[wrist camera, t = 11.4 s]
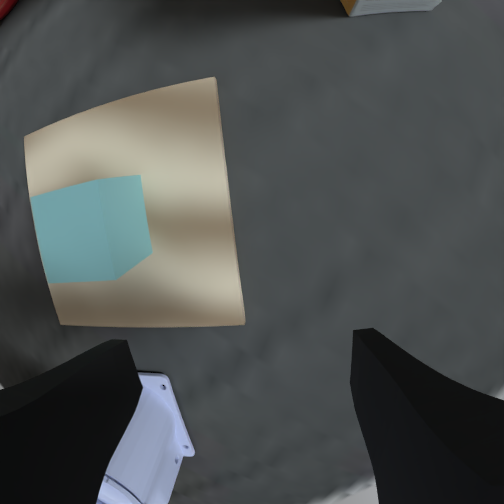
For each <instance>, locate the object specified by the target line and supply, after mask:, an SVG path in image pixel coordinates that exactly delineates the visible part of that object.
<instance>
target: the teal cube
mask: <svg viewBox="0 0 504 504" xmlns="http://www.w3.org/2000/svg"><path fill="white" fill-rule="evenodd" d="M30 199H31V206H32V212H33V218H34V224H35V229H36V234H37V239H38V244H39V248H40V253H41V257H42V261H43V265H44V269H45V273H46V277H47V281H48V283H69V282H90V281H108V280H117V279H118V278H120V277H121V276H122V275H124V274H125V273H126V272H128V271H129V270H130V269H132V268H133V267H134V266H136V265H137V264H138V263H140V262H141V261H142V260H144V259H145V258H147V257H148V256H149V255H151V254H152V253H153V251H152V246H151V240H150V235H149V229H148V223H147V216H146V210H145V203H144V196H143V189H142V182H141V175H133V176H123V177H113V178H105V179H97V180H93V181H89V182H85V183H81V184H77V185H73V186H69V187H65V188H61V189H58V190H54V191H51V192H47V193H44V194H40V195H37V196H33V197H30Z"/></svg>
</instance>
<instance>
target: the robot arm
mask: <svg viewBox="0 0 504 504" xmlns="http://www.w3.org/2000/svg"><path fill="white" fill-rule="evenodd" d="M163 385H165V386H166V387H165V386H163ZM350 386H351V391H352V397H353V402H354V407H355V411H356V415H357V418H358V421H359V424H360V427H361V431H362V434H363V437H364V440H365V443H366V446H367V450H368V453H369V456H370V459H371V463H372V466H373V470H374V475H375V480H376V486H377V493H378V500H379V504H504V400H501V399H498V398H495V397H492V396H489V395H486V394H483V393H481V392H478V391H476V390H473V389H471V388H469V387H466V386H464V385H462V384H460V383H458V382H456V381H454V380H452V379H450V378H448V377H446V376H444V375H442V374H440V373H439V372H437V371H435V370H434V369H432V368H430V367H429V366H427V365H425V364H424V363H422V362H421V361H419V360H418V359H416V358H415V357H413V356H412V355H410V354H409V353H407V352H406V351H404V350H403V349H402V348H400V347H399V346H397V345H396V344H395V343H393V342H392V341H391V340H389V339H388V338H386V337H385V336H384V335H382V334H381V333H380V332H378V331H377V330H375V329H374V328H368V329H360V330H353V346H352V363H351V377H350ZM194 454H195V450H194V448H193V445H192V443H191V440H190V438H189V435H188V432H187V430H186V427H185V424H184V422H183V419H182V416H181V413H180V411H179V408H178V405H177V402H176V399H175V396H174V393H173V390H172V387H171V384H170V381H169V378H168V377H167V376H166V375H164V374H158V373H141V372H137V369H136V367H135V364H134V361H133V358H132V355H131V352H130V349H129V346H128V343H127V340H113V339H112V340H109V341H106V342H104V343H102V344H100V345H98V346H96V347H94V348H92V349H90V350H88V351H86V352H84V353H82V354H80V355H78V356H76V357H75V358H73V359H71V360H69V361H67V362H65V363H63V364H61V365H59V366H57V367H55V368H53V369H51V370H49V371H47V372H45V373H43V374H41V375H39V376H37V377H35V378H32V379H30V380H28V381H25V382H22V383H20V384H17V385H14V386H11V387H8V388H5V389H1V390H0V504H168V502H169V499H170V496H171V493H172V490H173V487H174V484H175V480H176V477H177V474H178V471H179V468H180V465H181V462H182V459H183V456H194Z"/></svg>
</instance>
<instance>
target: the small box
mask: <svg viewBox="0 0 504 504" xmlns="http://www.w3.org/2000/svg"><path fill="white" fill-rule="evenodd" d="M340 1H341V3H342V4H343V6H344V8H345V10H346V12H347V14H348V16H350V17H353V16H360V15H368V14H378V13H389V12H407V11H431V10H432V9H433V8H434V7H435V6H436V5H438V4H439V3H440V2H441V1H442V0H340Z"/></svg>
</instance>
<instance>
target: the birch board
mask: <svg viewBox="0 0 504 504" xmlns="http://www.w3.org/2000/svg"><path fill="white" fill-rule="evenodd" d="M24 147H25V161H26V172H27V181H28V189H29V197H33V196H37V195H40V194H44V193H47V192H51V191H54V190H58V189H61V188H65V187H69V186H73V185H77V184H81V183H85V182H89V181H93V180H97V179H105V178H113V177H123V176H133V175H141V182H142V189H143V196H144V203H145V210H146V216H147V223H148V229H149V235H150V240H151V246H152V251H153V253H152V254H151V255H149V256H148V257H147V258H145V259H144V260H142V261H141V262H140V263H138V264H137V265H136V266H134V267H133V268H132V269H130V270H129V271H128V272H126V273H125V274H124V275H122V276H121V277H120V278H118V279H117V280H108V281H90V282H69V283H48V281H47V283H48V286H49V290H50V293H51V296H52V300H53V303H54V306H55V309H56V312H57V315H58V318H59V321H60V324H61V325H75V326H100V327H203V326H230V325H245V312H244V305H243V297H242V290H241V282H240V274H239V267H238V259H237V251H236V243H235V235H234V227H233V219H232V211H231V203H230V195H229V186H228V178H227V169H226V161H225V152H224V143H223V135H222V126H221V117H220V108H219V98H218V89H217V80H216V78H215V77H211V78H206V79H200V80H195V81H190V82H185V83H181V84H176V85H172V86H167V87H163V88H159V89H155V90H151V91H147V92H144V93H140V94H137V95H133V96H130V97H126V98H123V99H120V100H116V101H113V102H110V103H107V104H104V105H101V106H98V107H95V108H92V109H90V110H87V111H84V112H81V113H79V114H76V115H73V116H71V117H68V118H66V119H63V120H61V121H58V122H56V123H54V124H51V125H49V126H47V127H44V128H42V129H40V130H38V131H35V132H33V133H31V134H29V135H27V136H25V137H24ZM30 203H31V199H30ZM31 210H32V206H31ZM32 216H33V212H32ZM33 222H34V218H33ZM34 227H35V224H34ZM35 232H36V229H35ZM36 237H37V234H36ZM37 242H38V239H37ZM38 247H39V244H38ZM39 251H40V248H39ZM40 255H41V253H40ZM41 260H42V257H41ZM42 264H43V261H42ZM43 268H44V265H43ZM44 272H45V269H44ZM45 275H46V273H45ZM46 279H47V277H46Z"/></svg>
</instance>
